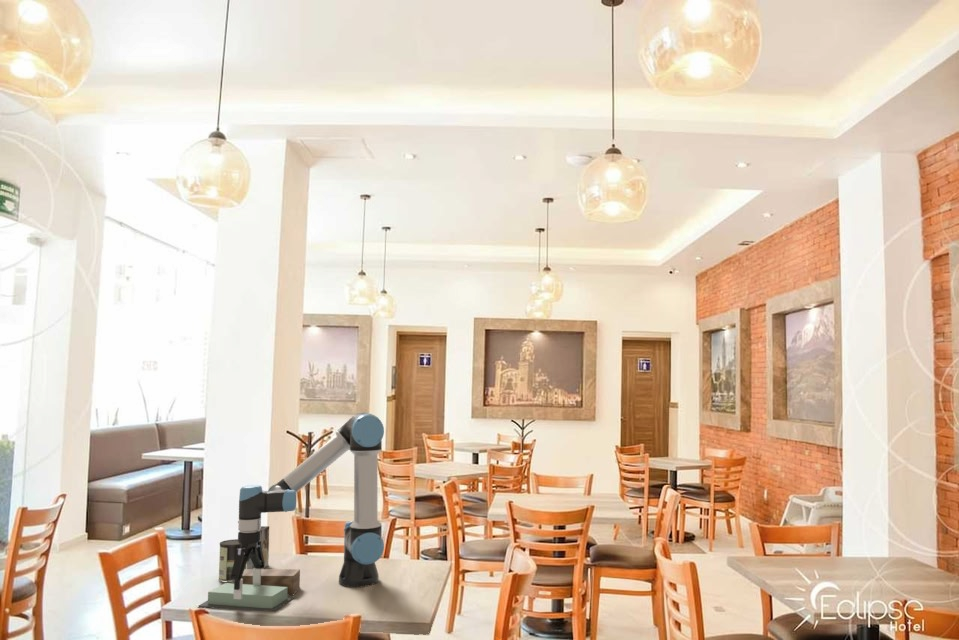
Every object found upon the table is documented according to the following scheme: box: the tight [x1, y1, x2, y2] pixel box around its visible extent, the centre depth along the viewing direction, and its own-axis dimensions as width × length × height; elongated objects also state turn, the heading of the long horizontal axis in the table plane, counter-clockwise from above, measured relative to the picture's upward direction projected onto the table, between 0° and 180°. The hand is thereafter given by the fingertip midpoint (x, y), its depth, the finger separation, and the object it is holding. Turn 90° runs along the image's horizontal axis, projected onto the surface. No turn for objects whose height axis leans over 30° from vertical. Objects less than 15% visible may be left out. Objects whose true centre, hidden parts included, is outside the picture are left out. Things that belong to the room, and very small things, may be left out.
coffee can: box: [218, 538, 247, 583], centre depth 272 cm, size 10×10×14 cm
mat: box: [198, 595, 295, 613], centre depth 241 cm, size 28×15×1 cm, turn 81°
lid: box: [207, 582, 288, 608], centre depth 241 cm, size 24×11×4 cm, turn 78°
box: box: [232, 568, 301, 596], centre depth 255 cm, size 22×9×7 cm, turn 90°
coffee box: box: [246, 525, 270, 569], centre depth 288 cm, size 9×6×16 cm
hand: (247, 593), depth 242 cm, fingers open, 13 cm apart
